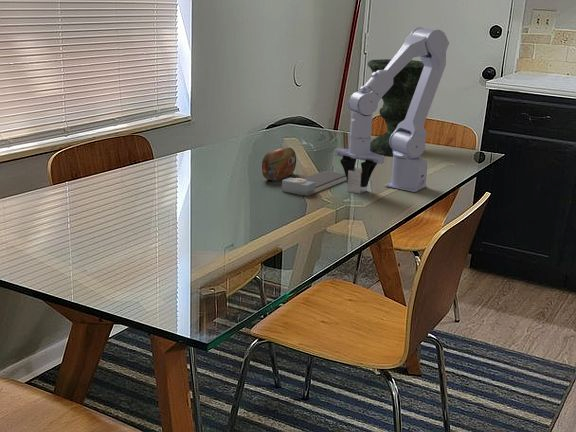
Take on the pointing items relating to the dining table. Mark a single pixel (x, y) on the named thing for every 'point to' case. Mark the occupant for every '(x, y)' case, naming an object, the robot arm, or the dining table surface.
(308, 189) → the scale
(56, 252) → the dining table surface
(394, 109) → the goblet
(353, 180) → the block
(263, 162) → the tin
